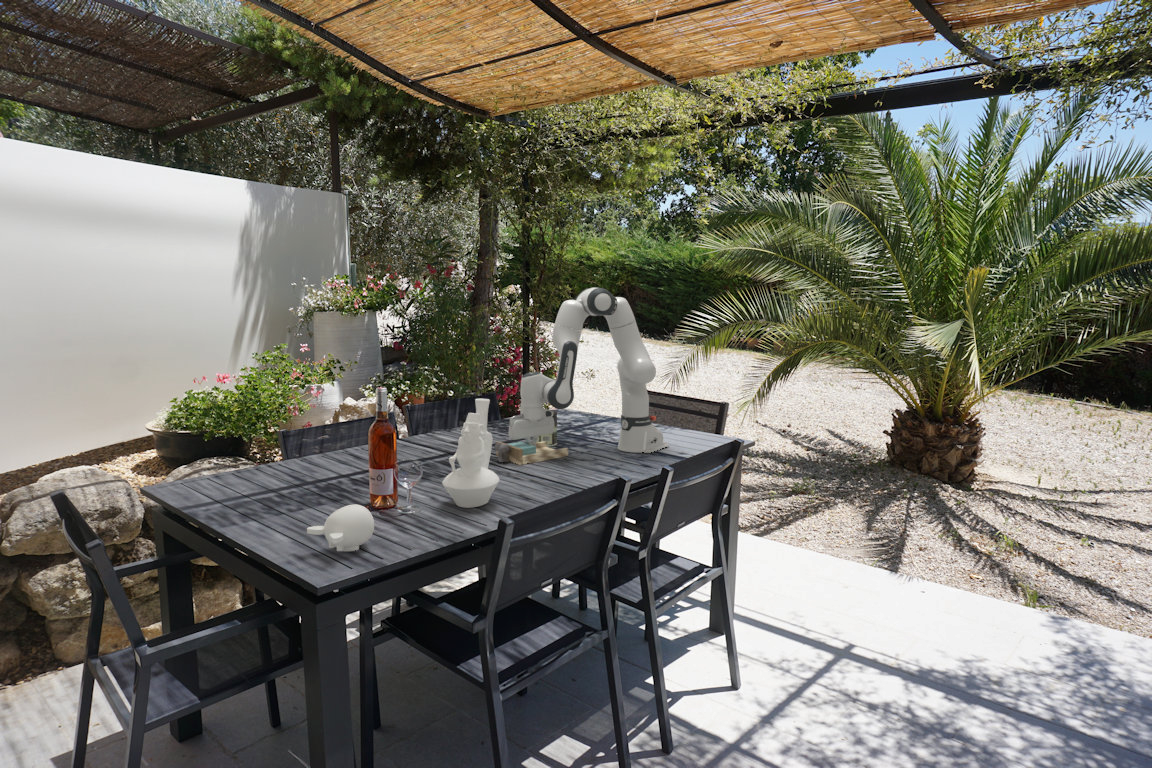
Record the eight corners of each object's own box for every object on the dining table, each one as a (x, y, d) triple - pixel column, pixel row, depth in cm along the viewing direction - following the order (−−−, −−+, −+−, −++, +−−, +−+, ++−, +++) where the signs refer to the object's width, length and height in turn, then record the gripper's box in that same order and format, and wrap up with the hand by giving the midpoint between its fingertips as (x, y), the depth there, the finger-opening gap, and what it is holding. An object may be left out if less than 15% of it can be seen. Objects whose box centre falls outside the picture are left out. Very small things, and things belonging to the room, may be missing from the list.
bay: (544, 448, 298) (544, 431, 297) (568, 455, 286) (568, 438, 285) (484, 459, 280) (484, 441, 279) (507, 467, 268) (507, 448, 267)
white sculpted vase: (430, 506, 222) (428, 404, 217) (473, 489, 240) (472, 394, 236) (476, 516, 213) (475, 410, 208) (517, 497, 232) (517, 399, 227)
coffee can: (548, 440, 313) (548, 408, 311) (561, 444, 304) (561, 412, 302) (528, 443, 307) (528, 410, 305) (541, 448, 299) (541, 414, 297)
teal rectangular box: (521, 451, 287) (521, 441, 287) (536, 456, 279) (536, 446, 279) (504, 454, 282) (504, 444, 281) (519, 459, 274) (519, 449, 274)
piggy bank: (363, 542, 196) (314, 563, 184) (351, 501, 196) (301, 519, 184) (389, 540, 188) (340, 561, 176) (377, 497, 188) (327, 515, 176)
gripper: (514, 417, 273) (514, 453, 275) (556, 411, 286) (556, 445, 288) (505, 415, 278) (505, 449, 280) (547, 409, 291) (547, 442, 293)
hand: (531, 447), depth 284 cm, fingers closed
